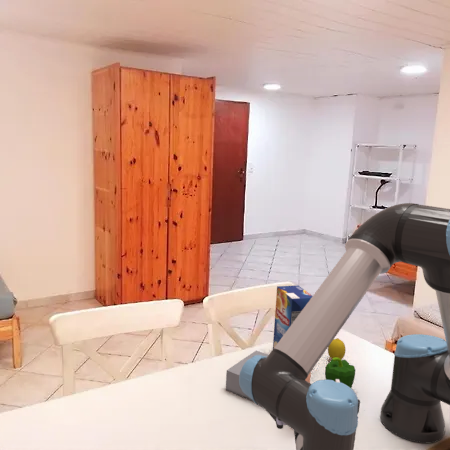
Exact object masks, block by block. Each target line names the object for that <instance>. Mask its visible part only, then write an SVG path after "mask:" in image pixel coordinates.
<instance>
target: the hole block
mask: <svg viewBox="0 0 450 450" xmlns="http://www.w3.org/2000/svg"><path fill="white" fill-rule="evenodd" d="M255 355H262V356H266V357H267V356H268V355H269V353H265V352H262V351H260V350H259V351H258V350H254V351H253V352H252V353H250V354H248V355H247V356H246V357H244V358H243V359H241V360H240V361H238V362H237V363H235V364H234V365H232V366H231V367H229V368H228V369H226V373H225V375H226V376H225V379H226V380H225V391H227V392H230V393H232V394H234V395H236V396H239V397H241V398H243V399H246V400H249V401H251V402H253V403H254V401H253V400H252V399H251V398H249V397H248V396H247V395H246V394H244V393H243V392H242V389H241V388H240V385H239V375H240V371H241V369H242V367H243V365H244V364H245V362H246V361H247V360H248V359H251V358H252V357H253V356H255Z"/></svg>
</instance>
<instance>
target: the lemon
mask: <svg viewBox="0 0 450 450" xmlns="http://www.w3.org/2000/svg"><path fill="white" fill-rule="evenodd" d="M327 354H328V356H329V358H330V359H331V360H332V358H335V357H336V358H339V359H341V360H343V359H344V357H345V355H346V345H345V342H344V341H343V340H341V339H340V338H334V339H333V341H332V342H331V344H330V345H329V346H328V348H327Z"/></svg>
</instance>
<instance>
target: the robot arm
mask: <svg viewBox="0 0 450 450" xmlns="http://www.w3.org/2000/svg"><path fill="white" fill-rule="evenodd" d="M344 245H345V246H344V248H345V252H344V254H343V255H342V256H341V257H340V259H339V260H338V261H337V263H336V264H335V266H334V267H333V268H332V270H331V271H330V273H329V274H328V275H327V276H326V278H325V279H324V280H323V282H322V283H321V284H320V286H319V287H318V289H317V290H316V291H315V292H314V293H313V295H312V298H311V299H310V301H309V302H308V303H307V305H306V306H305V307H304V309H303V310H302V311H301V313H300V314H299V315H298V317H297V318H296V319H295V321H294V322H293V323H292V325H291V326H290V327H289V329H288V330H287V331H286V333H285V334H284V335H283V337H282V338H281V339H280V341H279V342H278V343H277V345H276V346H275V348H274V349H273V348H272V350H271V351H270V352H269V353H268V356H267V357H266V356H262V355H255V356H253V357H252V358H251V359H248V360H247V361H246V362H245V364H244V365H243V367H242V369H241V371H240V375H239V385H240V388H241V389H242V392H243V393H244V394H246V395H247V396H248V397H249V398H251V399H252V400H253V401H254V402H253V401H252V402H253V403H254V404H256V405H257V406H259V407H261V408H262V409H264V410H265V411H266V412H267V413H268V415H270V417H271V418H272V420H273V421H275V426H276V428H277V429H278V430H283V429H284V426H288V427H289V428H290V429H292V430H293V432H294V433H293V435H294V440H295V441H294V442H295V450H354V449H355V440H356V434H357V433H356V432H357V428H358V424H359V420H358V419H359V417H358V414H359V413H360V404H361V400H360V399H359V398H358V396H357V393H356V392H355V391H354V390H353V389H352V387H351V388H350V387H349V386H347V385H345V384H343V383H341V382H340V381H339V379H336V381H333V380H326V379H319V380H316V381H314V382H312V383H311V382H310V383H309V382H307V381H305V379H306V378H307V377H308V375H309V374H310V372H311V373H312V371H313V369H314V368H315V366H316V365H317V363H318V362H319V361H320V359H322V357H323V355H324V353H325V352H326V351H327V350H328V346H329V345H330V344H331V342H332V341H333V339H336V336H337V335H339V332H340V331H341V329H342V328H343V326H344V325H346V324H345V323H346V322H347V320H349V319H350V317H351V315H352V314H353V312H354V311H355V309H356V308H357V306H358V305H359V303H360V302H361V301H362V299H363V298H364V296H365V295H366V294H367V293H368V291H369V289H370V288H371V287H372V285H373V284H374V282H375V281H376V279H377V278H378V276H379V275H380V274H381V275H382V274H385V273H388V272H389V270H390V269H391V267H392V266H393V265H394V264H396V263H400V262H401V263H403V264H407V265H411V266H416V267H419V268H421V269H422V274H423V278H424V281H425V283H426V284H427V286H428V287H430V288H431V289H432V290H434V291H435V295H436V299H437V304H438V308H439V313H440V319H441V323H442V327H443V328H442V329H443V334H444V337H445V339H443V338H441V337H438V336H435V335H430V334H422V333H421V334H419V333H418V334H416V333H415V334H408V335H403V336H402V337H400V338H399V339H398V340H397V342H396V346H395V349H394V352H393V353H394V354H393V355H394V358H393V367H392V375H391V385H390V391H389V392H388V393H387V395H386V398H385V400H384V402H383V403H382V405H381V408H380V414H379V415H380V416H379V418H380V421H381V424H382V425H383V426H384V427H385V428H386V429H387V430H388V431H390V432H391V433H392V434H394V435H396V436H398V437H400V438H402V439H405V440H408V441H411V442H416V443H421V442H422V444H423V443H425V444H426V442H431V443H435V441H436V442H438V441H440V440H441V439H443V438H444V436H445V429H446V422H445V418H444V414H443V409H442V405H441V402H442V403H444V404H446V405H448V406H450V208H445V207H438V206H432V205H424V204H419V203H413V202H411V203H410V202H405V203H399V204H394V205H391V206H388V207H387V208H384V209H383V210H380V211H378V212H377V213H375V214H373V215H372V216H371V217H369V218H368V219H367V220H365V222H363V223H362V224H361V225H359V227H357V228H356V230H354V232H353V233H352V234H351V235H350V237H349V238H348V240H347V241H346V243H345V244H344Z"/></svg>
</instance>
